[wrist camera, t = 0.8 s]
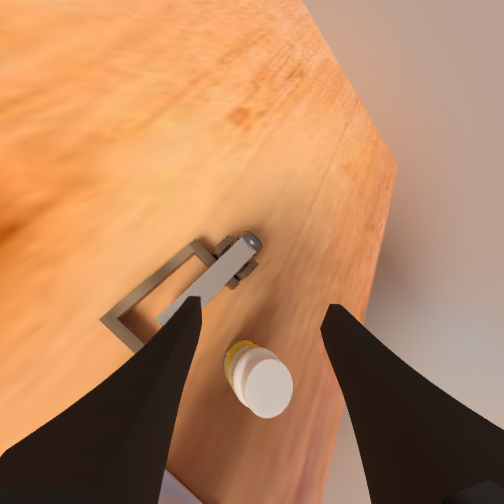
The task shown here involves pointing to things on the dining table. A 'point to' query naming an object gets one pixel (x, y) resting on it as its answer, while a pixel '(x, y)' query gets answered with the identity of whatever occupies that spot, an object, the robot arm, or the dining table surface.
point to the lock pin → (217, 273)
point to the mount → (115, 315)
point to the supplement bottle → (258, 378)
